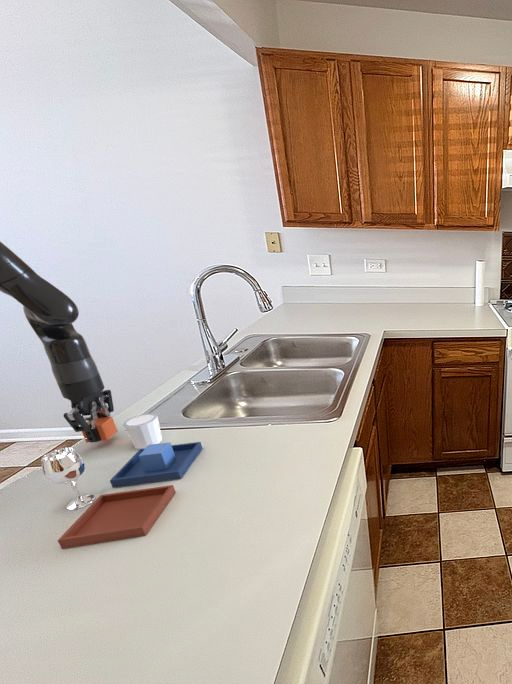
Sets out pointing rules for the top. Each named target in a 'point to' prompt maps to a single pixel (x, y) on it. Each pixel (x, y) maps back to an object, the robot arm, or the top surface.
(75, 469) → the wineglass
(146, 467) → the blue block
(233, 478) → the top surface
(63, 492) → the top surface
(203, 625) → the top surface
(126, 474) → the blue tray
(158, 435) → the white faceted cylinder
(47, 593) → the top surface
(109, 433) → the rust block
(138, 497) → the terracotta tray
